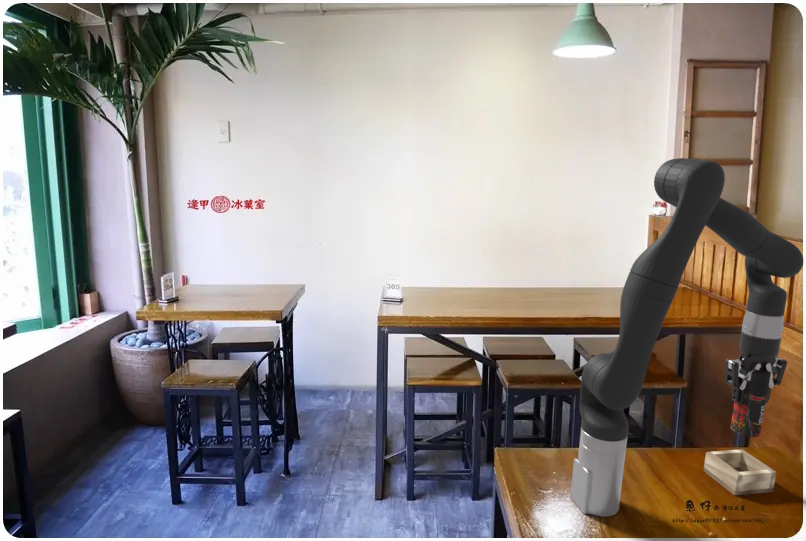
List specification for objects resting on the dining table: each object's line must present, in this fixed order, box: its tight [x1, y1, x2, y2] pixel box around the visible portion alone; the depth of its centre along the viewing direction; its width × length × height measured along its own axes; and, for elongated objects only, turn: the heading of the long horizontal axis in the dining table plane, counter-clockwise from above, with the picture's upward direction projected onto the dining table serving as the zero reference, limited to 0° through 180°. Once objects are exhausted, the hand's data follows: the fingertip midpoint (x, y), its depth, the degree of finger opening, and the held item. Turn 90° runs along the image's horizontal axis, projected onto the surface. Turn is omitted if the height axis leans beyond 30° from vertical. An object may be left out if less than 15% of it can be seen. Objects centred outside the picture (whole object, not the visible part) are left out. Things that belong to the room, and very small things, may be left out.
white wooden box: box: [702, 448, 777, 496], centre depth 129 cm, size 10×10×5 cm
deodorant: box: [730, 368, 771, 438], centre depth 125 cm, size 6×6×15 cm
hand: (750, 402), depth 125 cm, fingers closed on deodorant, 6 cm apart
